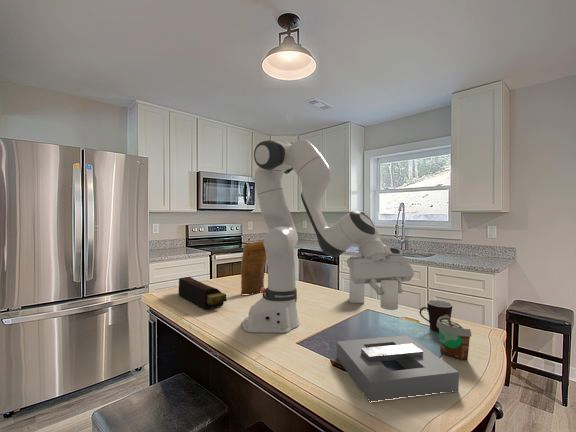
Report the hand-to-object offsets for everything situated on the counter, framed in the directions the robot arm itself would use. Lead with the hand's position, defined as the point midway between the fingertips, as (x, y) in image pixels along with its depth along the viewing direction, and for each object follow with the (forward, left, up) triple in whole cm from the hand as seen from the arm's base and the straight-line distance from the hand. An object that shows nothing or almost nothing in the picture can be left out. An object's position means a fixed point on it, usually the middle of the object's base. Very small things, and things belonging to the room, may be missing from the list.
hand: (390, 293), depth 90 cm
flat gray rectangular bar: (-3, -6, -15) cm, 17 cm away
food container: (+21, +1, -21) cm, 29 cm away
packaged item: (-62, +71, -21) cm, 96 cm away
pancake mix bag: (-34, +80, -21) cm, 89 cm away
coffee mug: (+30, +19, -21) cm, 41 cm away
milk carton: (+15, +57, -21) cm, 62 cm away
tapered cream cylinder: (0, +1, -4) cm, 4 cm away
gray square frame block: (-3, -6, -20) cm, 22 cm away
